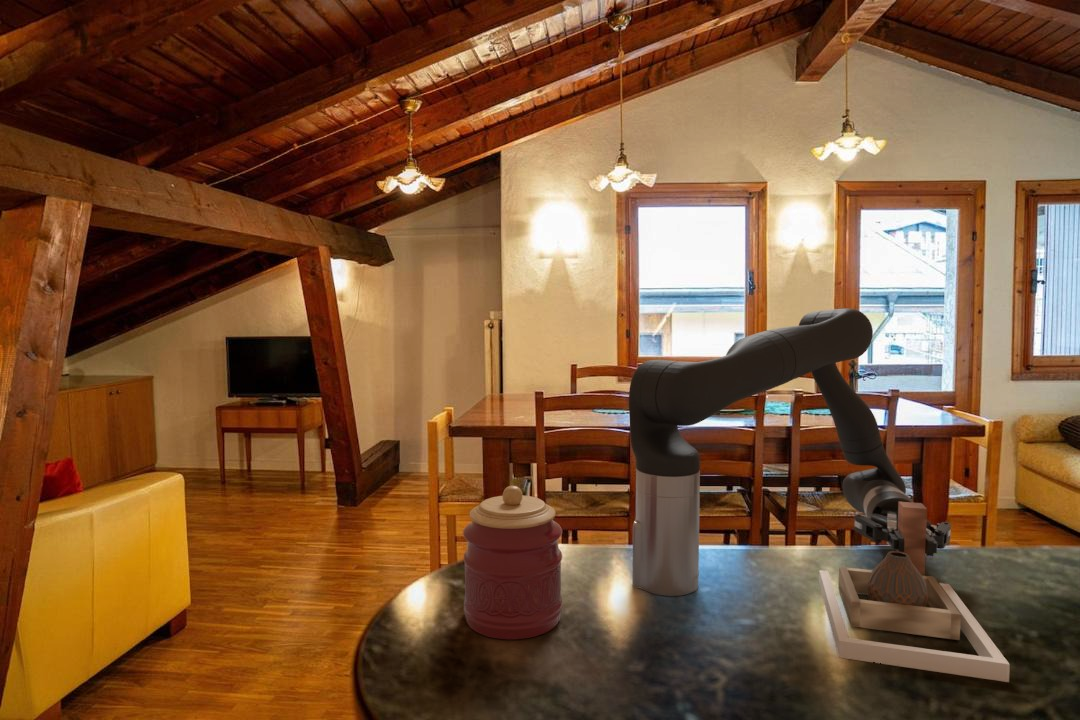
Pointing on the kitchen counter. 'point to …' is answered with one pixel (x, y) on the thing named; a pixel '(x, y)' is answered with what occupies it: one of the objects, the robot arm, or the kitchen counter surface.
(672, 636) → the kitchen counter surface
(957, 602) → the rail lane
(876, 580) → the vase
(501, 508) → the canister
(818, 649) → the kitchen counter surface
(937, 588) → the square wooden tray
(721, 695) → the kitchen counter surface
